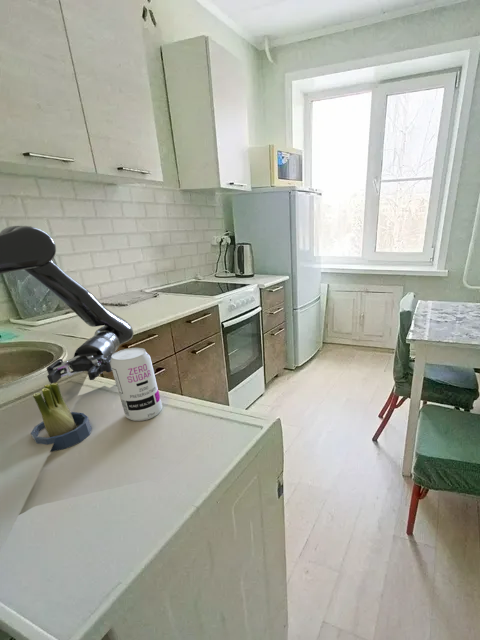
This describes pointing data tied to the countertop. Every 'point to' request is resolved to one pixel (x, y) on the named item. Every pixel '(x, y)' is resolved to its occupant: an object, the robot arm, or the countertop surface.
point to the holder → (67, 438)
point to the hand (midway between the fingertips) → (70, 378)
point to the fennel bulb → (54, 411)
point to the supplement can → (136, 383)
